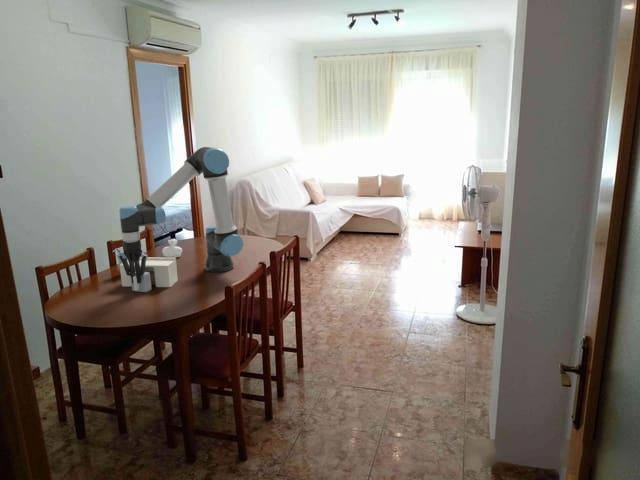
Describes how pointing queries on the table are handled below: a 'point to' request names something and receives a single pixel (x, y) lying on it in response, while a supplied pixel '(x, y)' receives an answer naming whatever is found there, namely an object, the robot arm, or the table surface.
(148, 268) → the console
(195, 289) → the table surface
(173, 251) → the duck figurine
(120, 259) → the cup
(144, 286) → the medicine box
